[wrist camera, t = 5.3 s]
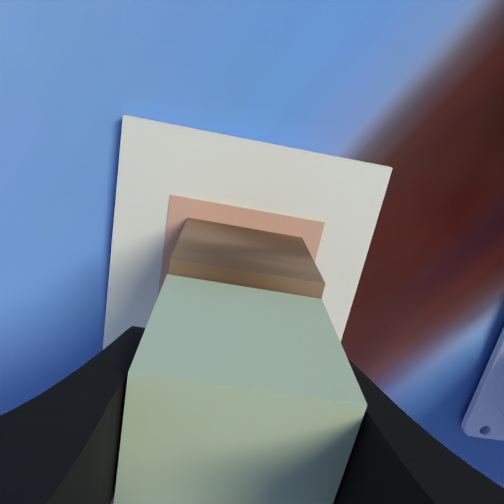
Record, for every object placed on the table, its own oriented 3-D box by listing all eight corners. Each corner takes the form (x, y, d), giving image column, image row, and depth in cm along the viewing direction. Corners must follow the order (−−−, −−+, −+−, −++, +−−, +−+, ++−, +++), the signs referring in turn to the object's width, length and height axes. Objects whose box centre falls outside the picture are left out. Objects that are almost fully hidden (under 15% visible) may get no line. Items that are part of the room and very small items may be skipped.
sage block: (321, 298, 12) (367, 405, 8) (288, 420, 14) (311, 565, 9) (167, 274, 12) (128, 372, 7) (150, 402, 13) (109, 545, 9)
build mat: (388, 166, 16) (393, 168, 16) (291, 494, 21) (293, 502, 21) (125, 114, 15) (122, 115, 15) (93, 472, 20) (90, 480, 20)
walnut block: (301, 237, 16) (325, 283, 12) (278, 336, 18) (291, 408, 14) (187, 217, 16) (170, 258, 12) (172, 320, 17) (152, 390, 13)
